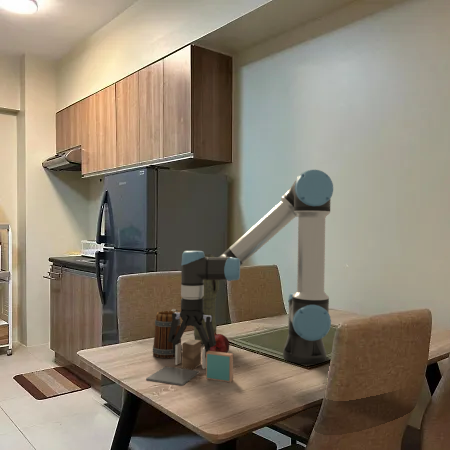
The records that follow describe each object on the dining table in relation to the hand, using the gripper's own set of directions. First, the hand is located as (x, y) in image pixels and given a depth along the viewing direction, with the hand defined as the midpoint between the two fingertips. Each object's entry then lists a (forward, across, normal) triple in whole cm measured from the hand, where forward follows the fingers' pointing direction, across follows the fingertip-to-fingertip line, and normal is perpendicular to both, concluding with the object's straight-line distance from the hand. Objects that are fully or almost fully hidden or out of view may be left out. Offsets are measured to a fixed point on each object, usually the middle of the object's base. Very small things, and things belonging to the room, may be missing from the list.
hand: (191, 365), depth 144 cm
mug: (0, +14, -11) cm, 18 cm away
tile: (0, -13, +8) cm, 15 cm away
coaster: (0, +1, +11) cm, 11 cm away
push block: (0, 0, 0) cm, 0 cm away
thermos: (0, +8, -30) cm, 31 cm away
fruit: (0, -4, -12) cm, 13 cm away
